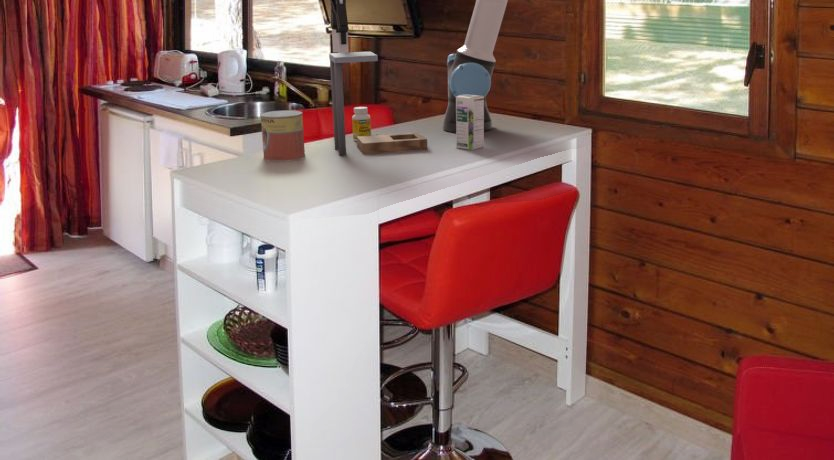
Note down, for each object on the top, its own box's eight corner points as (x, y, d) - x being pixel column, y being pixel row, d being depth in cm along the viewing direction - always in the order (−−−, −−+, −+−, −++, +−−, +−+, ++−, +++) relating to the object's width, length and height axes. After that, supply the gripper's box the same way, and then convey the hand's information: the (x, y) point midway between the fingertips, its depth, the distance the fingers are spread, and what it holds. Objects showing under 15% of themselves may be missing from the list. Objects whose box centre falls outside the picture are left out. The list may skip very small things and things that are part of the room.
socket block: (419, 142, 267) (418, 132, 266) (427, 149, 257) (427, 139, 256) (357, 146, 264) (356, 136, 263) (363, 154, 253) (362, 143, 252)
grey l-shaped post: (374, 145, 265) (370, 51, 258) (381, 153, 254) (377, 55, 246) (334, 148, 263) (329, 53, 255) (339, 156, 252) (334, 57, 244)
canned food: (259, 155, 255) (255, 112, 252) (298, 151, 260) (295, 108, 256) (269, 163, 245) (266, 118, 242) (310, 158, 250) (307, 114, 246)
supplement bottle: (365, 137, 277) (364, 105, 275) (374, 140, 273) (373, 107, 270) (349, 140, 274) (348, 107, 272) (358, 142, 270) (357, 109, 267)
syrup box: (455, 148, 258) (454, 96, 254) (469, 144, 262) (468, 93, 258) (471, 150, 254) (470, 97, 250) (484, 147, 258) (484, 95, 254)
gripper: (318, -23, 272) (323, 51, 278) (328, -22, 249) (333, 58, 255) (344, -24, 274) (347, 49, 280) (356, -23, 250) (360, 57, 256)
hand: (340, 54), depth 267 cm, fingers open, 13 cm apart
